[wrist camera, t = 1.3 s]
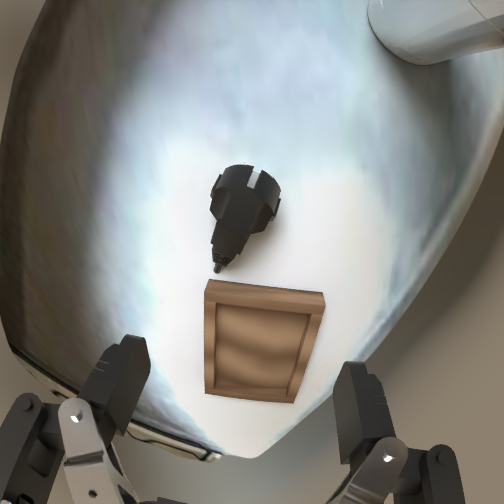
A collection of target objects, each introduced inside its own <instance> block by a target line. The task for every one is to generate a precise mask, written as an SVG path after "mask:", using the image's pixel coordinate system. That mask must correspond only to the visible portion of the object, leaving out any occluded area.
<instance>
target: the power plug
mask: <svg viewBox="0 0 504 504" xmlns="http://www.w3.org/2000/svg"><path fill="white" fill-rule="evenodd" d="M253 168H254V166H250V165H247V163H244V162H243V163H241V164H240V165H233V166H230V167H228V168H226V169H225V171H224V173H223V175H221V174H220V175H219V177H218V179H217V180H216V182H215V184H214V186H213V188H212V191H211V195H210V196H211V198H212V202H211V206H210V211H211V213H212V214H213V216H214V217H215V218H216V220H217V222H216V226H215V229H214V232H213V236H212V239H211V244H213V247H212V258H213V262H214V263H216V264H215V267H214V272H215V273H219V272H220V269H221V267H222V266H227V265H228V264H229V263H230V262H231V261H232V260H233V259H234V258H235V256H236V254H238V255H240V254H241V252H242V250H243V248H244V246H245V244H246V242H247V240H248V238H249V236H250V234H253V233H258V232H262V231H264V229H265V228H266V226H267V224H268V223H269V222H270V221H273V219H274V218H275V216H276V214H277V210H278V207H279V204H280V200H281V199H280V198H279V195H280V192H281V190H280V187H279V185H278V183H277V182H276V180H275V179H274V176H273V174H272V173H267V172H265V171H263V170H262V171H261V173H260V174H259V173H256V172H254V171H252V170H253Z"/></svg>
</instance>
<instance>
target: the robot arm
mask: <svg viewBox="0 0 504 504" xmlns="http://www.w3.org/2000/svg"><path fill="white" fill-rule="evenodd" d="M368 17H369V22H370V24H371V27H372V29H373V31H374V33H375V34H376V36H377V37H378V39H379V40H380V41H381V42H382V43H383V45H384V46H385V47H386V48H387V49H389V50H390V51H391V52H392V53H393V54H395V55H396V56H398V57H399V58H401V59H403V60H405V61H407V62H410V63H413V64H417V65H429V64H434V63H438V62H441V61H445V60H449V59H453V58H457V57H461V56H465V55H470V54H474V53H479V52H483V51H488V50H493V49H499V48H504V0H370V2H369V5H368ZM150 368H151V363H150V358H149V354H148V349H147V345H146V340H145V338H143V337H139V336H134V335H130V334H126V335H125V336H124V338H123V339H122V341H121V343H120V344H119V345H118V344H113V345H111V346H110V347H109V348H108V349H106V350H105V351H104V353H103V354H102V356H101V358H100V359H99V362H97V364H96V366H95V369H93V371H92V372H91V374H90V376H89V377H88V379H87V381H86V382H85V384H84V386H83V388H82V389H81V391H80V393H79V394H78V396H77V397H76V398H71V399H68V400H66V401H64V402H63V403H62V404H51V403H42V402H41V400H40V399H39V398H38V396H36V395H35V394H33V393H24V394H22V395H20V396H19V397H18V398H17V399H16V400H15V402H14V404H13V405H12V407H11V409H10V410H9V412H8V414H7V416H6V418H5V420H4V421H3V423H2V425H1V427H0V504H47V501H48V498H49V495H50V492H51V489H52V486H53V483H54V480H55V477H56V475H57V472H58V469H59V466H60V464H61V461H62V459H63V456H64V454H65V452H66V456H67V461H66V462H64V470H65V474H66V478H67V481H68V484H69V488H70V491H71V494H72V497H73V500H74V503H75V504H187V503H182V502H177V501H173V500H169V499H165V498H161V497H158V498H157V501H146V502H139V500H138V498H137V495H136V494H135V492H134V490H133V488H132V486H131V485H130V483H129V482H128V480H127V478H126V476H125V473H124V471H123V469H122V466H121V463H120V461H119V458H118V456H117V453H116V450H115V448H114V445H113V442H112V439H113V437H114V434H117V435H120V436H124V434H125V431H126V429H127V426H128V424H129V422H130V419H131V417H132V414H133V412H134V409H135V407H136V405H137V402H138V400H139V397H140V395H141V393H142V390H143V388H144V386H145V383H146V381H147V379H148V376H149V374H150ZM333 401H334V409H335V417H336V425H337V433H338V441H339V450H340V460H341V464H350V471H349V473H348V474H347V475H346V477H345V478H344V479H343V481H342V482H341V484H340V485H339V486H338V487H337V489H336V490H335V491H334V493H333V494H332V495H331V496H330V498H329V499H328V500H327V501H326V503H325V504H384V501H385V499H386V497H387V496H388V494H389V493H393V497H394V504H465V498H464V492H463V487H462V482H461V477H460V473H459V469H458V464H457V460H456V456H455V453H454V451H453V450H452V449H451V448H450V447H449V446H446V445H442V444H440V445H436V446H434V447H432V448H431V449H430V450H429V451H426V450H418V449H412V448H408V447H406V445H405V444H404V443H403V442H402V441H401V440H400V439H398V438H397V437H396V435H395V431H394V427H393V423H392V420H391V416H390V412H389V408H388V405H387V401H386V397H385V396H384V391H383V387H382V384H381V382H380V381H379V380H378V378H377V377H376V376H375V375H374V374H368V373H367V369H366V366H365V363H364V362H356V361H346V362H344V364H343V366H342V369H341V371H340V373H339V376H338V378H337V380H336V382H335V385H334V389H333Z"/></svg>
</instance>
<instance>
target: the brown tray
mask: <svg viewBox="0 0 504 504" xmlns="http://www.w3.org/2000/svg"><path fill="white" fill-rule="evenodd" d="M325 306H326V305H325V301H324V297H323V293H322V292H313V291H304V290H295V289H286V288H277V287H268V286H260V285H252V284H244V283H236V282H228V281H221V280H213V279H209V281H208V283H207V286H206V288H205V291H204V379H205V394H211V395H218V396H224V397H232V398H239V399H247V400H257V401H267V402H279V403H294V400H295V398H296V395H297V392H298V390H299V387H300V384H301V381H302V378H303V375H304V373H305V370H306V367H307V364H308V361H309V358H310V355H311V352H312V349H313V345H314V342H315V339H316V336H317V333H318V329H319V326H320V323H321V319H322V316H323V313H324V309H325Z"/></svg>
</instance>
